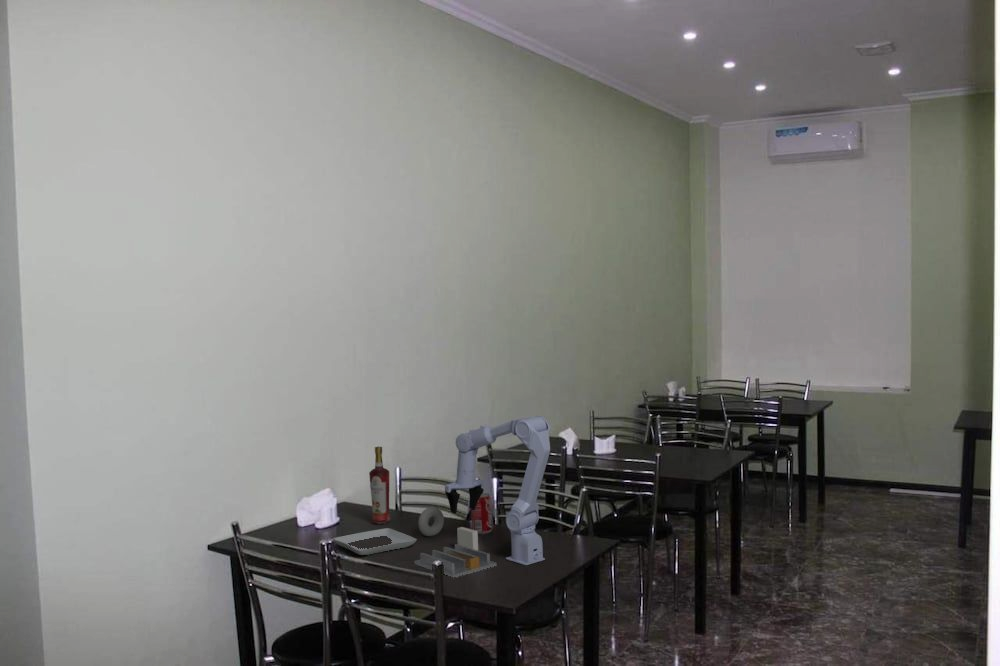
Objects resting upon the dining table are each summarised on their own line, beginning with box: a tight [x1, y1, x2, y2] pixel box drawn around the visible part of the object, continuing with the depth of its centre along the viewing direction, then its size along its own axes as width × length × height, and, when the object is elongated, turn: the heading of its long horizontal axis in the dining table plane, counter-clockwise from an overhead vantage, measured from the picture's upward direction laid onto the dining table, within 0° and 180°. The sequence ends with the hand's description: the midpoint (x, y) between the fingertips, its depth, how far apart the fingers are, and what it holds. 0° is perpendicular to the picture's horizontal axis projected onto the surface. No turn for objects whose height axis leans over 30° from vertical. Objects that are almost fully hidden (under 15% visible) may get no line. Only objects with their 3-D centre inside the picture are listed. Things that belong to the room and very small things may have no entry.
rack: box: [413, 543, 497, 579], centre depth 257 cm, size 20×16×4 cm
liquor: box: [368, 446, 391, 522], centre depth 313 cm, size 7×7×28 cm
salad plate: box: [332, 527, 417, 556], centre depth 281 cm, size 21×21×3 cm
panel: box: [456, 526, 479, 550], centre depth 272 cm, size 8×2×7 cm, turn 40°
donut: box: [417, 506, 445, 537], centre depth 292 cm, size 10×4×10 cm, turn 129°
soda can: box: [470, 492, 493, 535], centre depth 295 cm, size 7×7×13 cm
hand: (462, 510), depth 274 cm, fingers open, 7 cm apart
